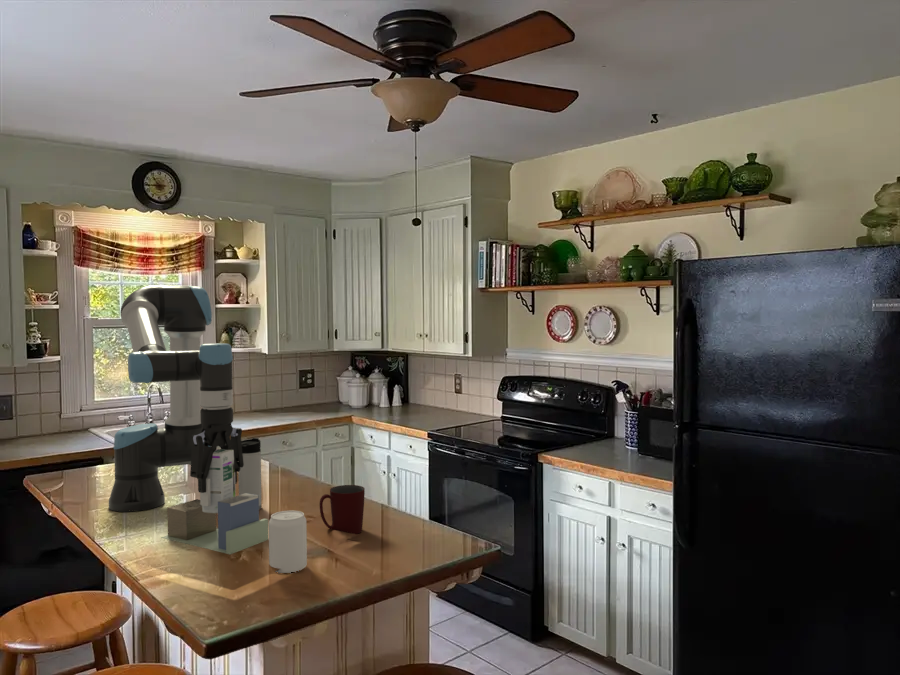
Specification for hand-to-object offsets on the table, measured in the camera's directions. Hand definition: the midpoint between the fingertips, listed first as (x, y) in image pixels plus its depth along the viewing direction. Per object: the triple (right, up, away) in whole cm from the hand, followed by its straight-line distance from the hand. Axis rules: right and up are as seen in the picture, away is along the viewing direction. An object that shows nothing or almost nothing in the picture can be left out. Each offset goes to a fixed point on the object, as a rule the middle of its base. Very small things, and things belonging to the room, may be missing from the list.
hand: (218, 501), depth 171 cm
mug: (+28, -11, +10) cm, 32 cm away
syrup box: (0, -2, 0) cm, 2 cm away
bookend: (-8, -9, +5) cm, 13 cm away
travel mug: (-1, -10, +33) cm, 34 cm away
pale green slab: (-1, -11, +1) cm, 11 cm away
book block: (+6, -9, -3) cm, 12 cm away
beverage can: (+20, -12, -15) cm, 28 cm away
